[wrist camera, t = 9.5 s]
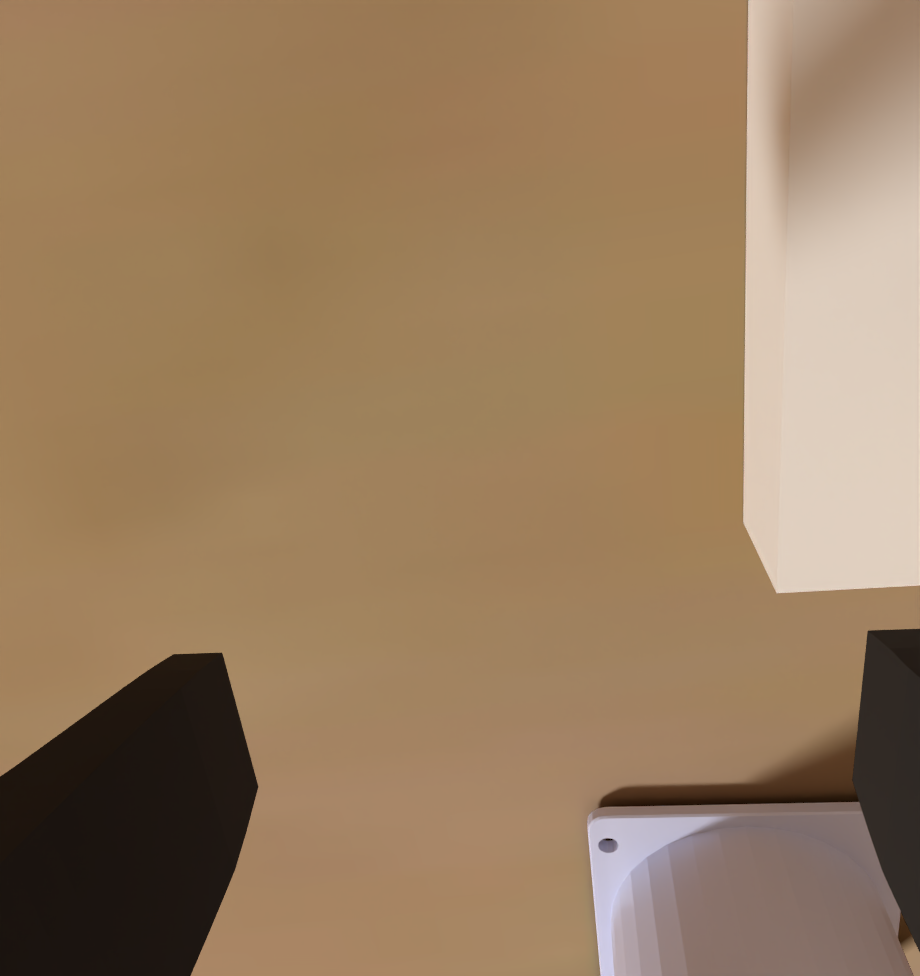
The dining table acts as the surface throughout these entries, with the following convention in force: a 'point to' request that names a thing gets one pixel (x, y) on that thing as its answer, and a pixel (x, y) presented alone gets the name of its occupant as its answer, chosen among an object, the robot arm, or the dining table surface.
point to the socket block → (833, 293)
